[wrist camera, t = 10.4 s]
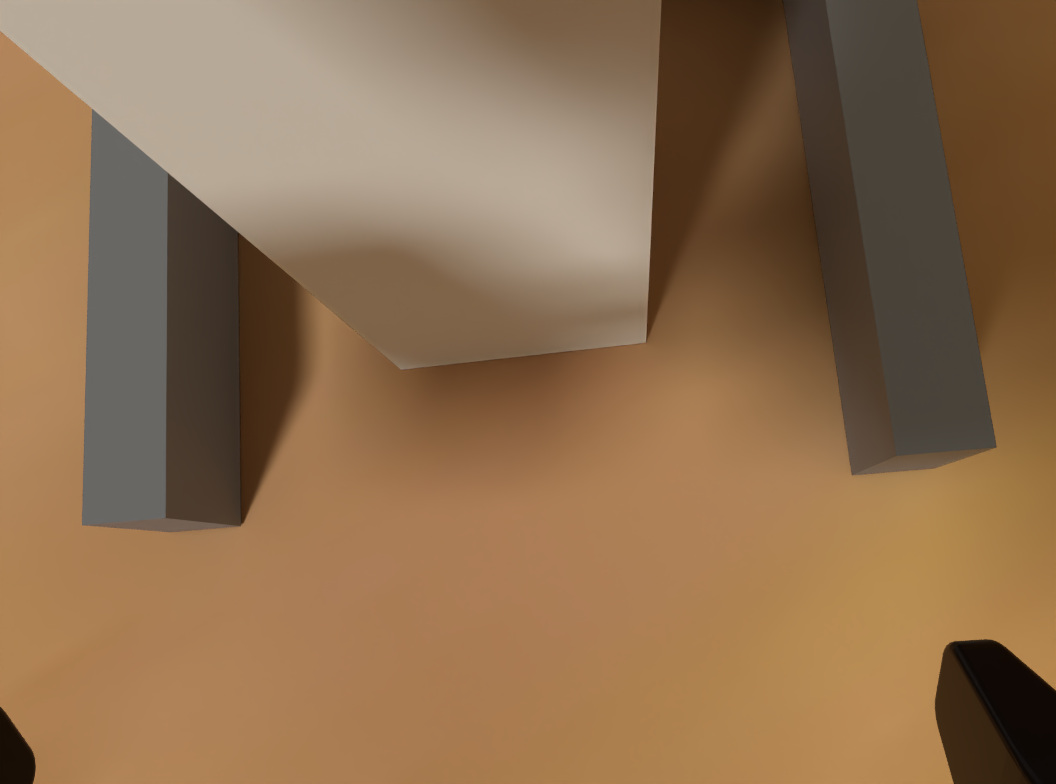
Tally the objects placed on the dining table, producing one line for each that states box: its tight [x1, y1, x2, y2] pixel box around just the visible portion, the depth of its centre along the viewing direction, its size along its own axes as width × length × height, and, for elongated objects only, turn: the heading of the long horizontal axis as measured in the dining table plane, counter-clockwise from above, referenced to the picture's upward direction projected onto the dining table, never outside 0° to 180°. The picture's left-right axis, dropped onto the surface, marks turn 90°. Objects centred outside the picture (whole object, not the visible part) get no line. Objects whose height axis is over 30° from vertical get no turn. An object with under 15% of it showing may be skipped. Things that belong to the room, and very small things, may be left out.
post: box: [0, 0, 661, 370], centre depth 12 cm, size 5×5×13 cm
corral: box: [82, 0, 996, 532], centre depth 17 cm, size 12×15×3 cm
